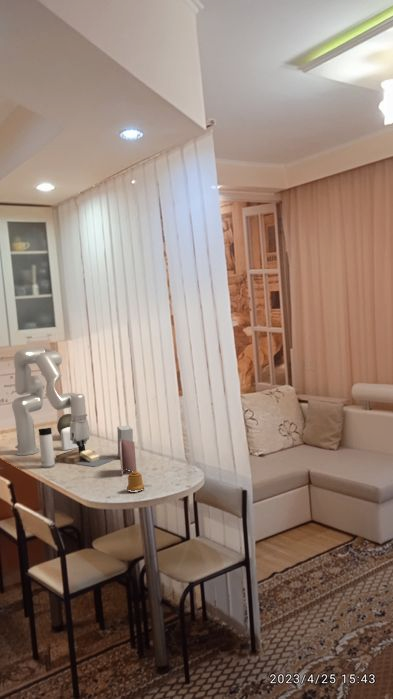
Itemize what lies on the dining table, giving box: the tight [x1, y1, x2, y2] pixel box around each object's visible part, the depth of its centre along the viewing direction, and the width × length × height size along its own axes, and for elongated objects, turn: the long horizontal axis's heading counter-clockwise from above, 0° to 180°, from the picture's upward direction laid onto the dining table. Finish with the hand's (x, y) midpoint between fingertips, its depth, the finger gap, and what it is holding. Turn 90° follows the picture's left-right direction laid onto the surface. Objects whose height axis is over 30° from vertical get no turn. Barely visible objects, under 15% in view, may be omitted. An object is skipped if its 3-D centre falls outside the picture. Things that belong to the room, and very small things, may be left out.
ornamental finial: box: [126, 471, 146, 491], centre depth 245 cm, size 8×8×8 cm
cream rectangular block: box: [80, 448, 100, 462], centre depth 298 cm, size 8×6×2 cm
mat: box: [74, 456, 116, 468], centre depth 296 cm, size 14×14×1 cm
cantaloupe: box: [56, 413, 72, 436], centre depth 355 cm, size 14×14×15 cm
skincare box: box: [116, 425, 134, 459], centre depth 301 cm, size 8×7×16 cm
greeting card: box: [119, 439, 138, 475], centre depth 273 cm, size 11×7×15 cm, turn 4°
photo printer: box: [60, 427, 78, 451], centre depth 328 cm, size 10×4×12 cm, turn 123°
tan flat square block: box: [55, 448, 95, 465], centre depth 305 cm, size 14×14×3 cm
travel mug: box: [38, 427, 56, 469], centre depth 293 cm, size 6×7×20 cm
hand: (82, 453), depth 301 cm, fingers closed
